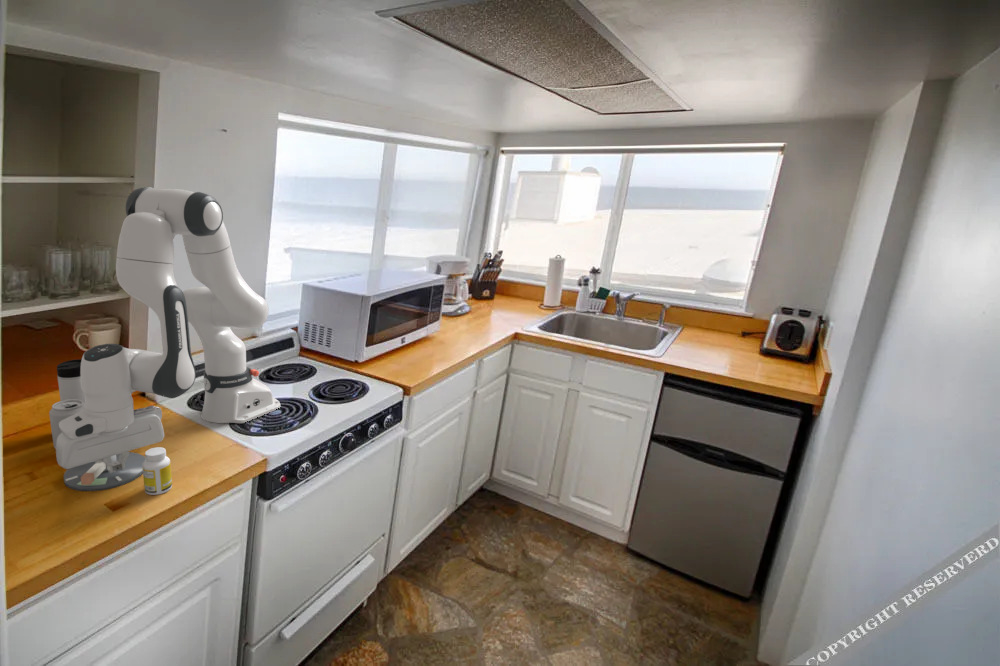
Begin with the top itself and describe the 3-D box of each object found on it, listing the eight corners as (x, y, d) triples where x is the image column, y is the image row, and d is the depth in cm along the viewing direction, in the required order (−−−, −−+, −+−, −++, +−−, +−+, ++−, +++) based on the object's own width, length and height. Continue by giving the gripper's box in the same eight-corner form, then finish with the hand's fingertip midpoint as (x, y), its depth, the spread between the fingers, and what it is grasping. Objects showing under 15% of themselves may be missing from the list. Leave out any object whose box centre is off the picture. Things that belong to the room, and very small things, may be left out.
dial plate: (131, 449, 137) (130, 444, 137) (159, 472, 128) (158, 467, 128) (53, 472, 124) (53, 467, 124) (79, 499, 116) (78, 494, 115)
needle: (101, 462, 127) (100, 449, 126) (120, 462, 128) (118, 449, 127) (76, 487, 117) (74, 473, 116) (96, 487, 118) (94, 473, 117)
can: (70, 455, 131) (65, 411, 128) (46, 449, 133) (40, 406, 130) (98, 442, 139) (94, 400, 135) (75, 437, 140) (70, 395, 137)
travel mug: (99, 430, 144) (92, 362, 139) (71, 438, 139) (62, 367, 134) (89, 423, 148) (81, 356, 142) (60, 431, 142) (51, 361, 137)
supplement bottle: (171, 480, 126) (169, 443, 123) (172, 492, 121) (169, 454, 119) (144, 485, 123) (141, 447, 120) (144, 497, 118) (140, 459, 116)
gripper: (155, 399, 129) (159, 450, 132) (49, 424, 112) (57, 481, 116) (166, 407, 125) (170, 459, 129) (59, 434, 109) (67, 493, 113)
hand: (116, 470), depth 122 cm, fingers closed
